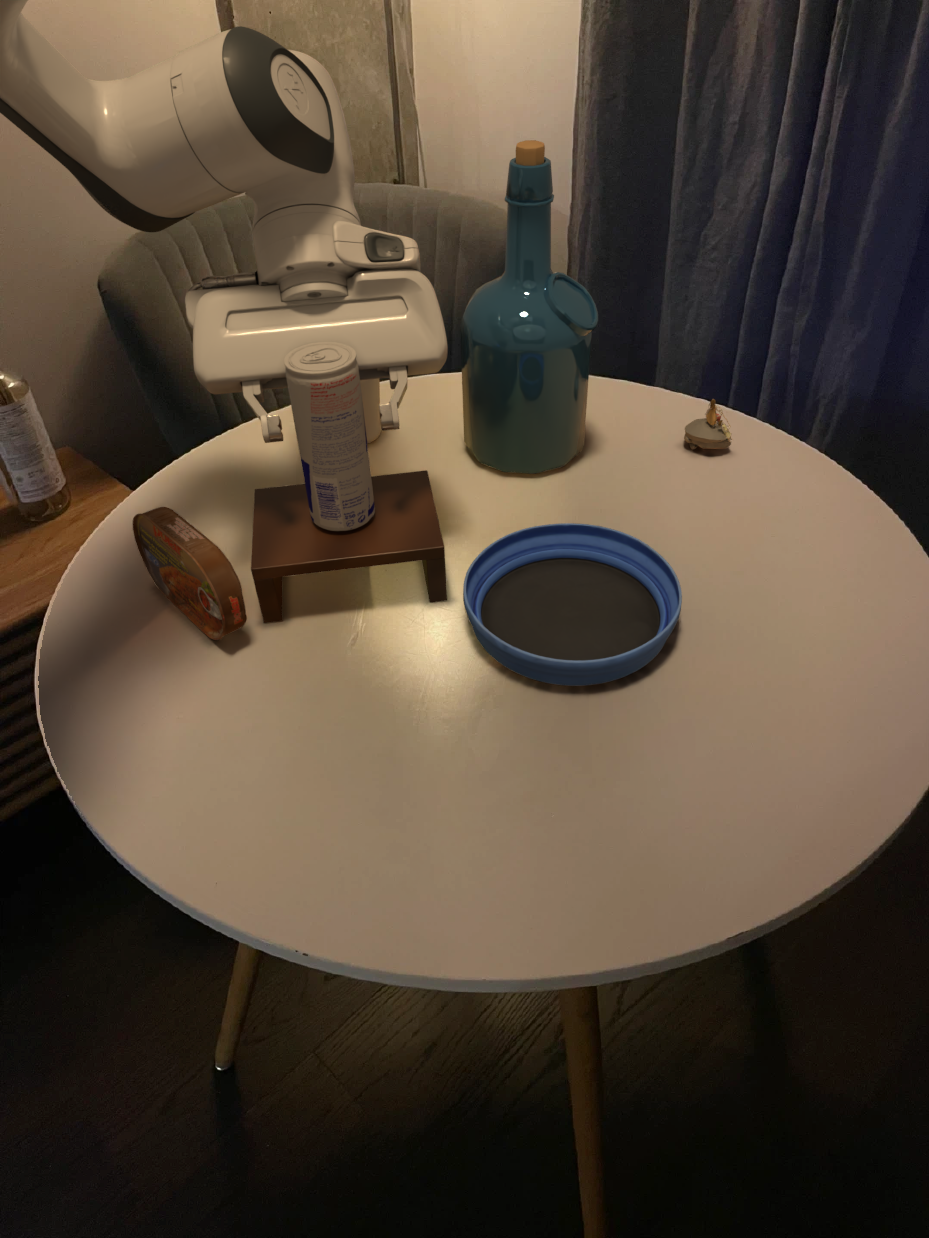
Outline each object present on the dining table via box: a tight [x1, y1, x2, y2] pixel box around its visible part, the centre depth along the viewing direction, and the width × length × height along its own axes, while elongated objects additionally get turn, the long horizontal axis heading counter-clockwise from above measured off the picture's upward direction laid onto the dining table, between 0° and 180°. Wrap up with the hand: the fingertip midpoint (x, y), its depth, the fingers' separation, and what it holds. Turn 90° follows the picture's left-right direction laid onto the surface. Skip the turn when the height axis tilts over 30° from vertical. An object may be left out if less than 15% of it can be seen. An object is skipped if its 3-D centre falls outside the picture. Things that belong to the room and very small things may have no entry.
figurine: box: [683, 398, 734, 450], centre depth 94 cm, size 5×4×6 cm
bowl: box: [462, 522, 683, 687], centre depth 75 cm, size 18×18×4 cm
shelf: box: [250, 469, 448, 624], centre depth 80 cm, size 16×12×6 cm
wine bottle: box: [459, 139, 599, 475], centre depth 87 cm, size 14×13×30 cm
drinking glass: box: [360, 378, 382, 445], centre depth 95 cm, size 7×7×15 cm
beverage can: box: [284, 342, 375, 531], centre depth 73 cm, size 6×6×15 cm
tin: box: [132, 506, 248, 641], centre depth 76 cm, size 15×3×8 cm, turn 42°
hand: (332, 434), depth 71 cm, fingers open, 8 cm apart
